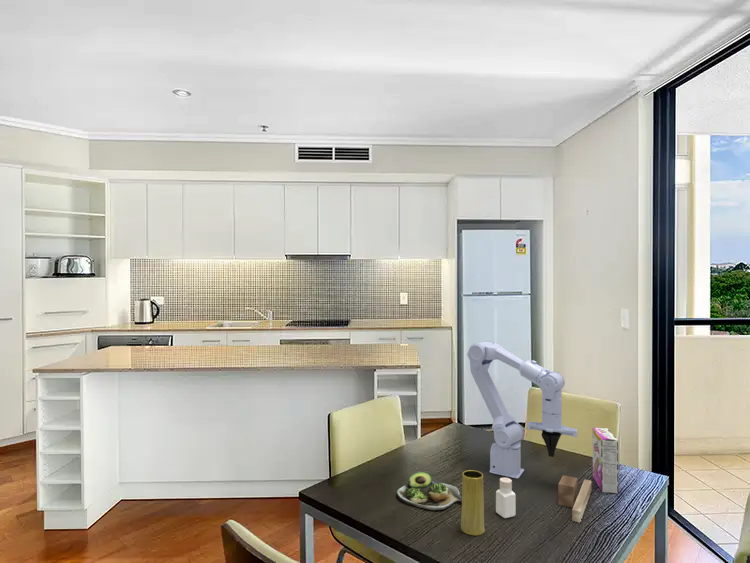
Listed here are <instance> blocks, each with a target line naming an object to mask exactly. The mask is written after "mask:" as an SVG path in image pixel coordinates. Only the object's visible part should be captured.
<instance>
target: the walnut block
mask: <svg viewBox="0 0 750 563" xmlns="http://www.w3.org/2000/svg"><path fill="white" fill-rule="evenodd" d="M557 486H558V487H557V488H558V494H557V495H558V500H557V501H558V505H559V506H563V507H566V506H567V508H570V507H571V508H570V509H573V507H574V504H575V502H576V499H577V497H578V477H574V476H569V475H562V476H561V479H560V480H559V482H558V485H557ZM558 505H557V506H558Z"/></svg>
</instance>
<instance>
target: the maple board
mask: <svg viewBox="0 0 750 563" xmlns="http://www.w3.org/2000/svg"><path fill="white" fill-rule="evenodd" d="M591 493H592V480H590V479H585V478H584V480H583V482H582V485H581V487H580V490H579V491H578V493H577V499H576V502H575V504H574V507H573V508H571V510H572V511H571V515H572V516H571V517H572V518H571V521H572V522H574V521H575V522H574V523H579V524H581V523H580V522H582V520H581V519H583V518H584V517H583V516H584V515H585V510H586V508H587V505H588V503H589V502H588V501H589V499H590V496H591Z"/></svg>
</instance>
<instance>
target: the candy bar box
mask: <svg viewBox="0 0 750 563" xmlns="http://www.w3.org/2000/svg"><path fill="white" fill-rule="evenodd" d="M591 429H592V479H593V480H594V482H595V483H596V484H597V487H598V488H599V490H600V491H601V493H603V494H604V493H605V494H614V495H615V494H617V495H618V494H619V440H618V438H617V437H616V436H615V435H614V434H613V433H612V432H611V430H610V429H609V428H608V427H607V428H605V427H592V428H591Z"/></svg>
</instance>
